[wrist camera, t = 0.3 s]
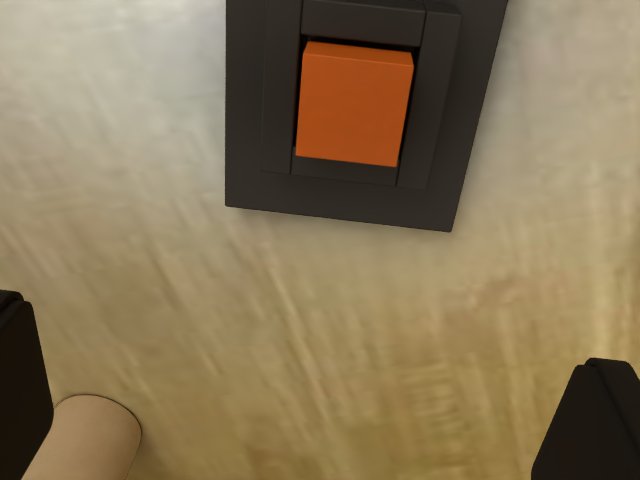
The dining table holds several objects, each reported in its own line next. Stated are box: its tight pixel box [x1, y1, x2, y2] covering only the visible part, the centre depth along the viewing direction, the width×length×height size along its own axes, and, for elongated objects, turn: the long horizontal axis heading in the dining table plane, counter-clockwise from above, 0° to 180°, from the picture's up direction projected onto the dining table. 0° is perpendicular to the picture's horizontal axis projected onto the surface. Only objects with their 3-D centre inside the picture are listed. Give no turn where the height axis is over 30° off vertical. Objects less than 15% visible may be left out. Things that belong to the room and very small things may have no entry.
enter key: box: [296, 41, 414, 167], centre depth 20 cm, size 4×4×2 cm
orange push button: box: [225, 0, 508, 232], centre depth 22 cm, size 12×10×3 cm
